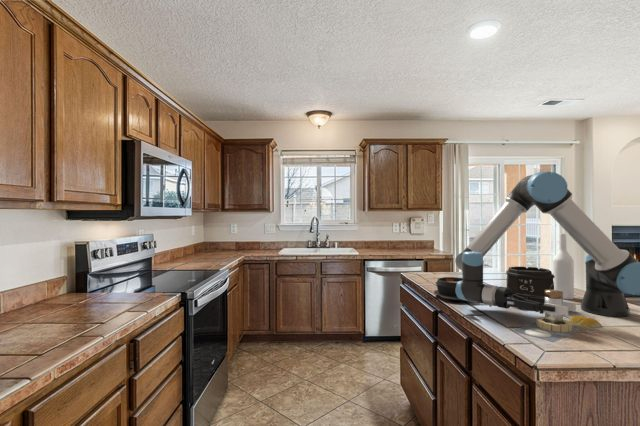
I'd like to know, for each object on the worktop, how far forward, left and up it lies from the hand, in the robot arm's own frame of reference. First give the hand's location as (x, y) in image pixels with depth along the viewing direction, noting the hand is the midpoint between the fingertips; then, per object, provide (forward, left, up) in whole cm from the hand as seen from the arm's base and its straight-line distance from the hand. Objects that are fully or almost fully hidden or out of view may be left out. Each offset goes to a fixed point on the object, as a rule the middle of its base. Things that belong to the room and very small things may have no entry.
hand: (571, 309), depth 111 cm
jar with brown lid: (+3, -4, -7) cm, 9 cm away
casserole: (+20, -52, -9) cm, 56 cm away
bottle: (-31, -54, -9) cm, 62 cm away
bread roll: (-10, -9, -9) cm, 16 cm away
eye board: (+7, -1, -8) cm, 11 cm away
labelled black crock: (-7, -38, -9) cm, 39 cm away
